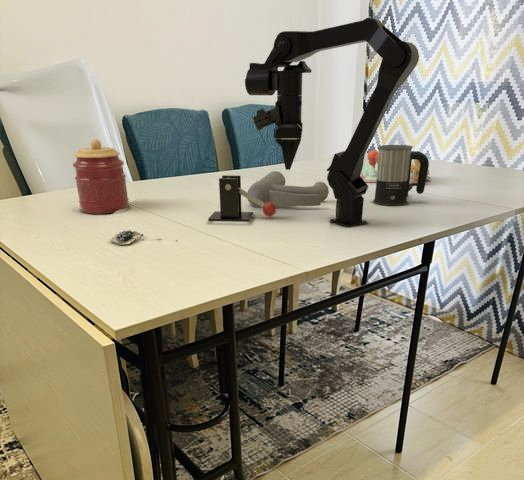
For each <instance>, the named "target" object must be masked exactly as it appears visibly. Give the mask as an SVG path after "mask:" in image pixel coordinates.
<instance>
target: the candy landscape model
mask: <svg viewBox="0 0 524 480" xmlns="http://www.w3.org/2000/svg"><path fill="white" fill-rule="evenodd" d="M378 157H379V150H376V149H372V150H370V151H369V152H368V154H367V160H368V164H369V165H367V166H366V165H365V166H363V168H362V171H361V174H360V176H361V177H362V179H363V180H364V181H365V182H366V183H376V181H377V170H376V165H377V168H378ZM419 170H420V162H419V160H416V159H413V163H411V172H410V182H409V184H417V181H418V176H419ZM429 175H430V170H429V169H428V172H427V178H426V181H427V180H430V179H432V177H431V176H429Z"/></svg>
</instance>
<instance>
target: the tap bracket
mask: <svg viewBox="0 0 524 480" xmlns="http://www.w3.org/2000/svg"><path fill="white" fill-rule="evenodd" d="M227 177H230V178H227ZM238 187H239V188H241V189H242V177H241V175H237V174H236V175H234V174H233V175H231V174H229V175H226V174H225V175H224V174H223V175H221V177H219V178H218V189H219V209H220V210H219V211H216V210H215V211H214V212H213V213H212V214H211V215H210V216H209V217H208V220H207V221H208V222H234V223H235V222H237V223H240V222H241V223H249V222H250V221H251V219H252V218H253V216H254V211H242V195H241V194H239V193H238Z"/></svg>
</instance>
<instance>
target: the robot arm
mask: <svg viewBox="0 0 524 480" xmlns="http://www.w3.org/2000/svg"><path fill="white" fill-rule="evenodd" d="M361 43H367V44H368V45H369V46H370V48H372V49H373V51H374V52H375V53H376V54H377V55H378V56H379V57H380V58H381V61H380V65H379V68H378V75H377V80H376V85H375V88H374V90H373V92H372V94H371V96H370V99H369V100H368V102H367V104H366V107H365V109H364V111H363V113H362V116H361V117H360V119H359V122H358V123H357V126H356V128H355V129H354V132H353V134H352V137H351V139H350V140H349V142H348V145H347V147H346V149H345V150H343V151H340V152H337V153H334V154H333V156H332V160H331V162H330V163H331V164H330V165H329V167H327V169H326V172H328V173H327V175H326V176H327V177H326V180H327V183H328V185H329V187H330V188H331V189H332V192H333V196H334V199H335V200H336V202H335V218H330V222H332V223H335V224H338V225H340V226H342V227H350V226H351V227H353V226H357V225H364V224H367V223H368V220H365V219H363V212H364V201H365V197H363V195H366V193H367V191H368V189H369V185H368V183H367V182H365V181H364V180H363V179H362V177H361V176H360V174H361V171H363V169H364V161H365V155H366V153H367V150H368V149H369V147H370V145H371V144H372V143H371V142H372V141H373V139H374V137H375V134H376V133H377V131H378V128H379V127H380V125H381V123H382V121H383V118H384V117H385V114H386V112H387V110H388V108H389V106H390V105H391V102H392V100H393V98H394V97H395V94H396V93H397V91H398V90H399V89H400V88H401V87H402V86H403V84H404V83H405V82H406V81H407V79H408V78H409V77H410V75H411V74H412V73H413V71H414V70H415V68H416V67H417V65H418V63H419V60H420V54H419V49H418V48H417V45H416V44H414V43H412V42H410V41H405V40H402V39H401V38H400V37H398V35H396V34H395V33H394V32H392V31H391V30H390V29H388V28H387V27H386V26H385V25H384V24H383V22H382V21H381V20H380V19H378V18H376V17H375V18H374V17H366V18H364V19H361V20H359V21H358V20H357V21H353V22H348V23H344V24H341V25H336V26H331V27H327V28H323V29H319V30H314V31H313V30H312V31H304V30H303V31H301V30H300V31H299V30H284V31H281V32H279V33H277V34H276V37H275V38H274V42H273V47H272V49H271V51H270V52H269V54H268V56H267V57H266V60H265V61H264V63H259V62H250V63H249V69H248V70H247V72H246V75H245V79H244V86H245V90H246V93H247V94H248V95H249V96H274V95H275V93H276V101H275V104H274V105H275V106H274V107H273V108H271V109H269V110H265V108H261V109H258V110H256V115H254V116H252V120H253V124H254V126H255V128H256V131H257V132H258V131H261V130H263V129H264V128H266V127H268V126H270V125H273V124H274V126H275V127H274V128H273V139H274V141H275V142H276V143H277V144H278V145H279V146H280V148H281V152H282V157H283V163H284V169H285V170H288V171H290V170H291V168H292V166H293V163H294V160H295V158H296V155H297V153H298V149H299V147H300V145H301V142H302V135H303V128H304V127H303V121H302V112H303V111H302V110H303V109H302V106H303V74H311V73H312V71H313V70H312V69H311V67H309V66H308V64H307V62H306V61H305V59H308V58H310V57H312V56H313V55H315V54H317V53H319V52H323V51H328V50H333V49H337V48H341V47H347V46H352V45H356V44H361ZM293 63H297V64H293ZM279 68H283V69H282V70H279ZM362 168H363V169H362Z"/></svg>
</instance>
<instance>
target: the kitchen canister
mask: <svg viewBox="0 0 524 480" xmlns="http://www.w3.org/2000/svg"><path fill="white" fill-rule="evenodd" d="M120 154H121V153H120V152H119V151H118V150H116V149H115V148H113V147H109V146H102V143H101V141H100V140H99V139H98V138H97V139H96V138H93V139H92V140H91V141H90V147H82V148H80V149H78V151H77V152H75V153H74V157H75V158H76V160H75V161H74V162H73V163H72V167H73V168H74V169H75V176H74V180H75V183H76V184H75V185H76V189H77V194H78V195H77V196H78V203H79V207H80V210H81V211H82V212H83V213H87V214H92V215H93V214H94V215H96V214H99V215H101V214H104V215H105V214H112V213H116V212H118V211H120V210H124V209H126V208H128V207H129V204H130V200H129V199H130V198H129V197H128V196H129V195H128V188H127V180H126V177H127V175H126V174H125V173H124V168H123V166H124V165H125V162H124V160H122V159H120V157H119V156H120Z"/></svg>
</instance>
